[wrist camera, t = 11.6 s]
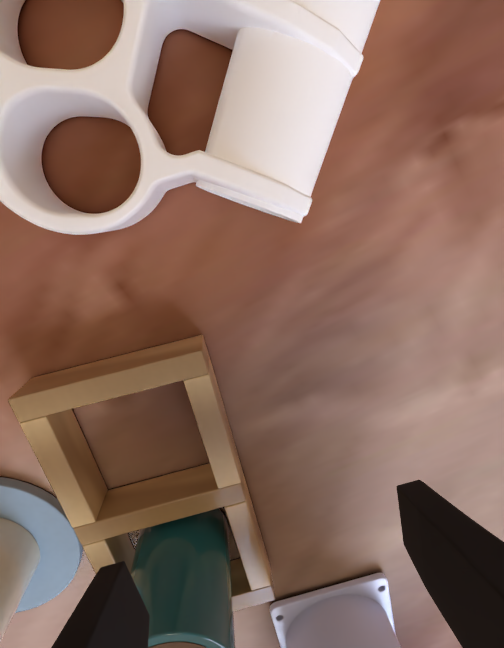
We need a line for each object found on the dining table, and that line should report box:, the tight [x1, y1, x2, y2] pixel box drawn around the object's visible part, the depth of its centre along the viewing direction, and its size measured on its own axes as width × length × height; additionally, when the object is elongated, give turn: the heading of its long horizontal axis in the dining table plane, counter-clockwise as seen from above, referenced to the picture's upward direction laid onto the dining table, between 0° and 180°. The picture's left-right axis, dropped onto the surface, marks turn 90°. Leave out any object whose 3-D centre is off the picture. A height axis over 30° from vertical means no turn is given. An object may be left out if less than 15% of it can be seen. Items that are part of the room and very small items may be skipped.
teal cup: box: [130, 508, 235, 648], centre depth 18 cm, size 5×5×7 cm
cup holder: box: [8, 335, 275, 612], centre depth 19 cm, size 16×9×2 cm, turn 13°
